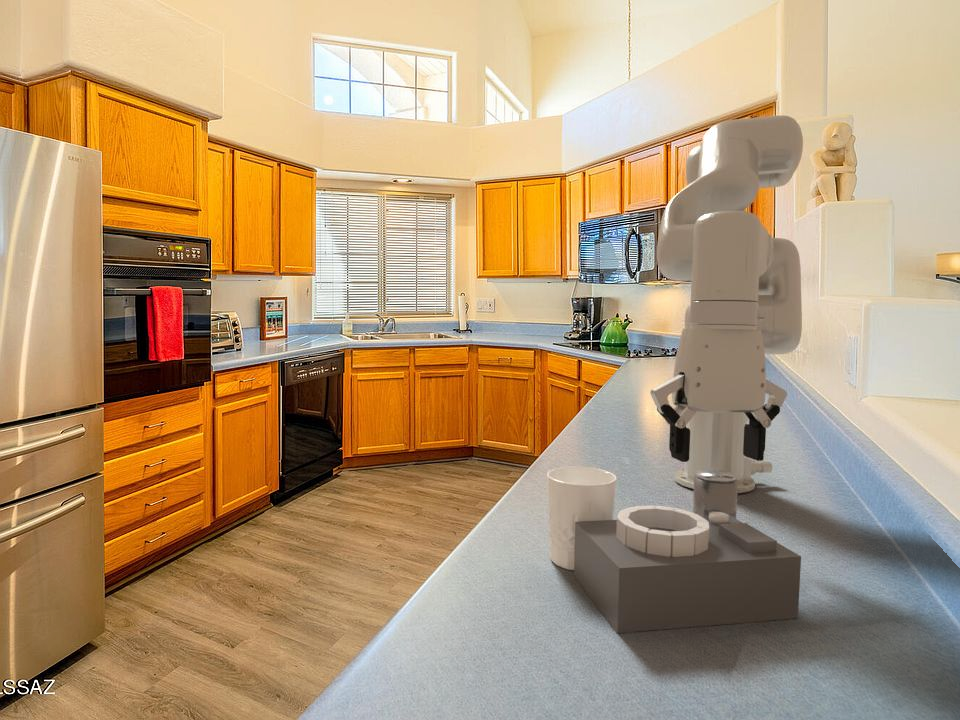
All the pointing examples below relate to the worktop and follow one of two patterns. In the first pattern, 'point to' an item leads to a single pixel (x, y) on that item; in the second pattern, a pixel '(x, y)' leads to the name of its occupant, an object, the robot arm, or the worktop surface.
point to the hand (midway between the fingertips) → (716, 458)
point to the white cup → (576, 506)
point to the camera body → (683, 570)
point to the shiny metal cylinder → (715, 492)
